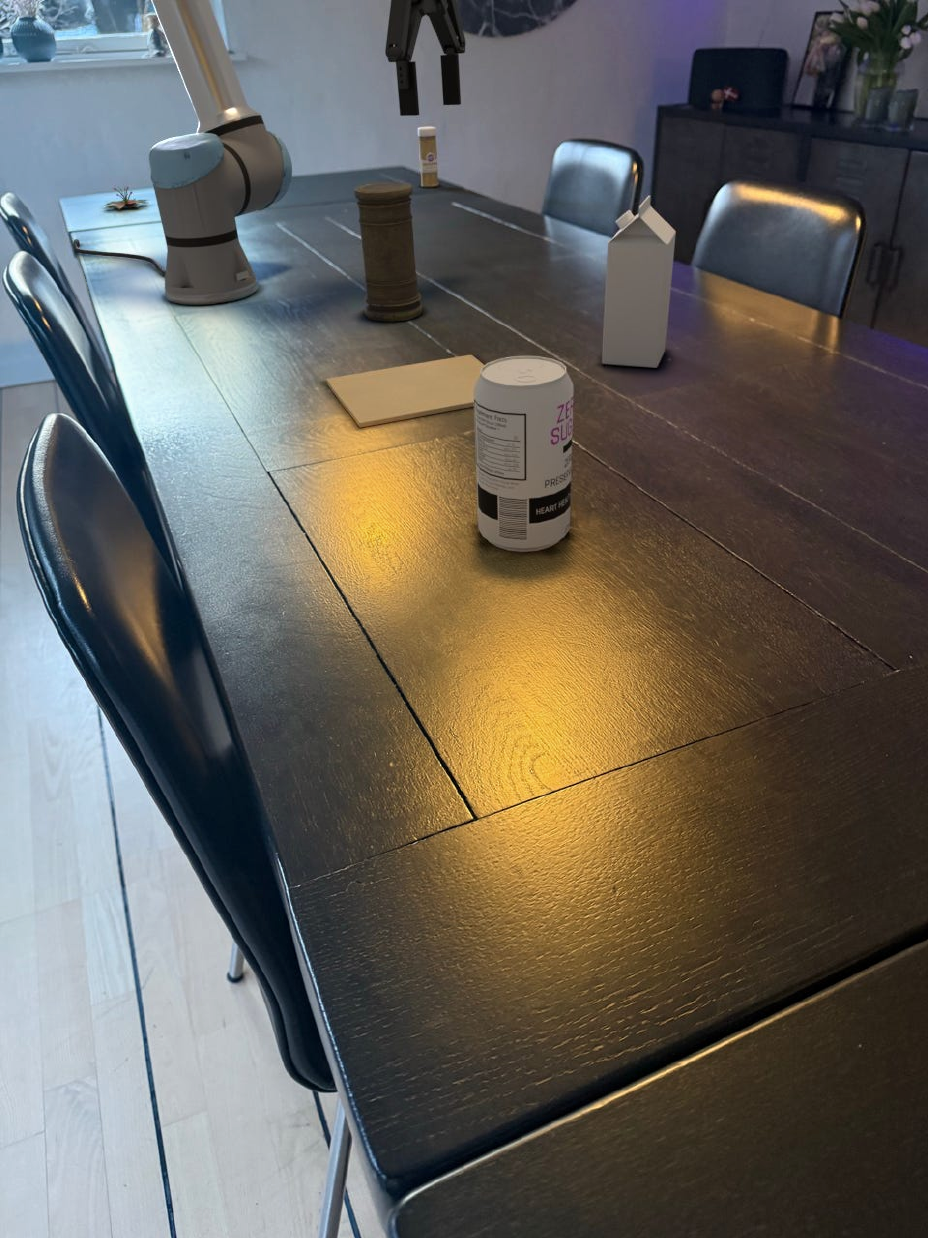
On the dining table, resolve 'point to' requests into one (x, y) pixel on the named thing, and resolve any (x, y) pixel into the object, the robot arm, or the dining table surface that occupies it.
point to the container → (388, 251)
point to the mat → (408, 390)
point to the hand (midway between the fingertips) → (431, 109)
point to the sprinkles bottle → (428, 156)
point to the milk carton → (638, 289)
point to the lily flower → (124, 201)
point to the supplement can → (523, 452)
